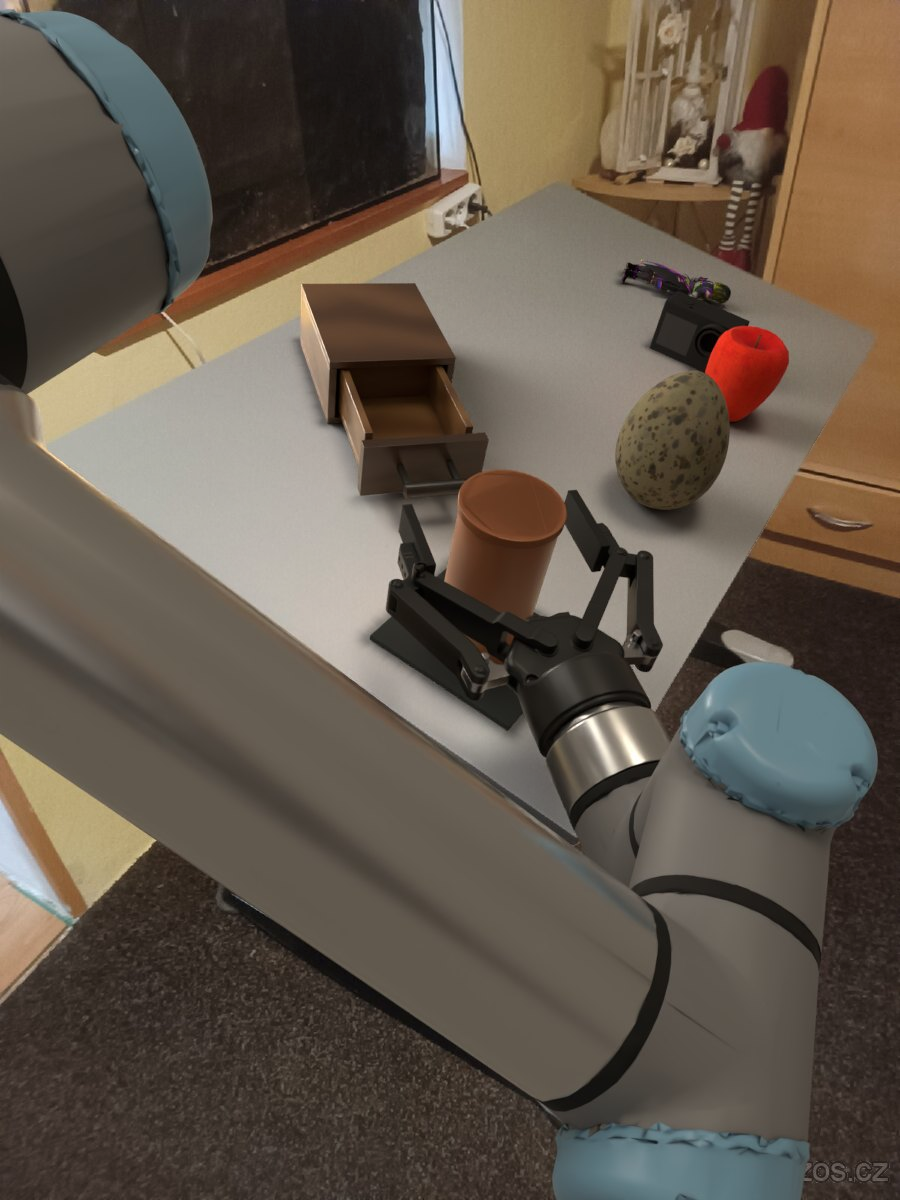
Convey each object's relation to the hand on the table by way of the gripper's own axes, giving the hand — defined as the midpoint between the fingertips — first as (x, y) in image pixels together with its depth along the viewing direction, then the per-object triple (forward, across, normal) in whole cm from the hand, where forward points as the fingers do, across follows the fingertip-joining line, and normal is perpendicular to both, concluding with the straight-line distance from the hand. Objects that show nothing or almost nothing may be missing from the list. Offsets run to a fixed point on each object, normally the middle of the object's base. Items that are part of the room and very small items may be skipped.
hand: (489, 509), depth 64 cm
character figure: (+57, +51, -12) cm, 78 cm away
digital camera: (+39, +44, -12) cm, 60 cm away
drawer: (+22, 0, -11) cm, 24 cm away
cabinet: (+37, 0, -12) cm, 39 cm away
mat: (-3, 0, -12) cm, 13 cm away
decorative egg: (+13, +25, -12) cm, 31 cm away
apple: (+26, +43, -12) cm, 52 cm away
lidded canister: (-3, 0, -12) cm, 12 cm away
